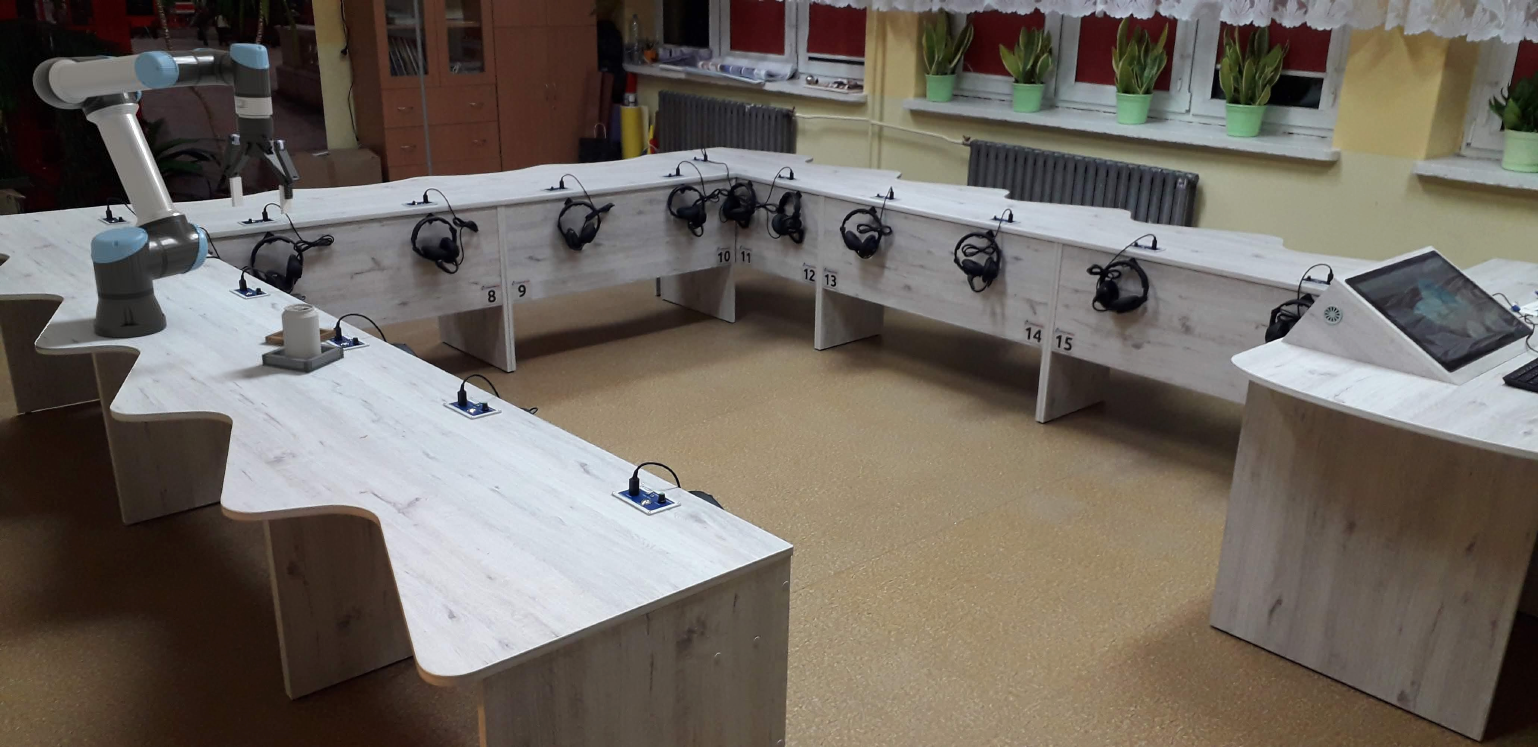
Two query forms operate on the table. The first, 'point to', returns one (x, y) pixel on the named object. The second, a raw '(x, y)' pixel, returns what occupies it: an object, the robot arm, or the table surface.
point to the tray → (302, 365)
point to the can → (301, 331)
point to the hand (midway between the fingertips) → (262, 209)
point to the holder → (279, 339)
